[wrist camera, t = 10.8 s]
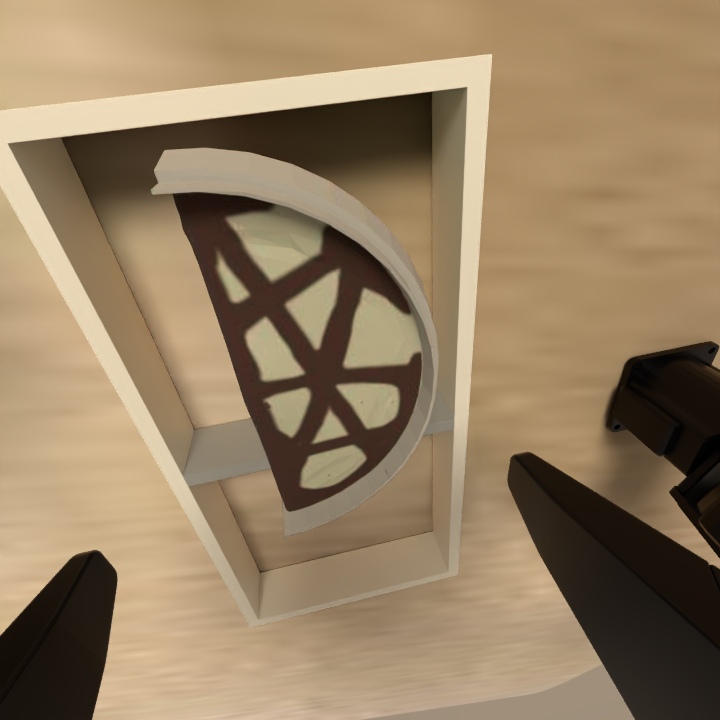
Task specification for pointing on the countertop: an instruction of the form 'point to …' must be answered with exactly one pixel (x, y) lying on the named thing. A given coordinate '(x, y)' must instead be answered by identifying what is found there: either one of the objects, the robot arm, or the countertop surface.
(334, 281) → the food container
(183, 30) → the countertop surface
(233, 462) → the divided tray
